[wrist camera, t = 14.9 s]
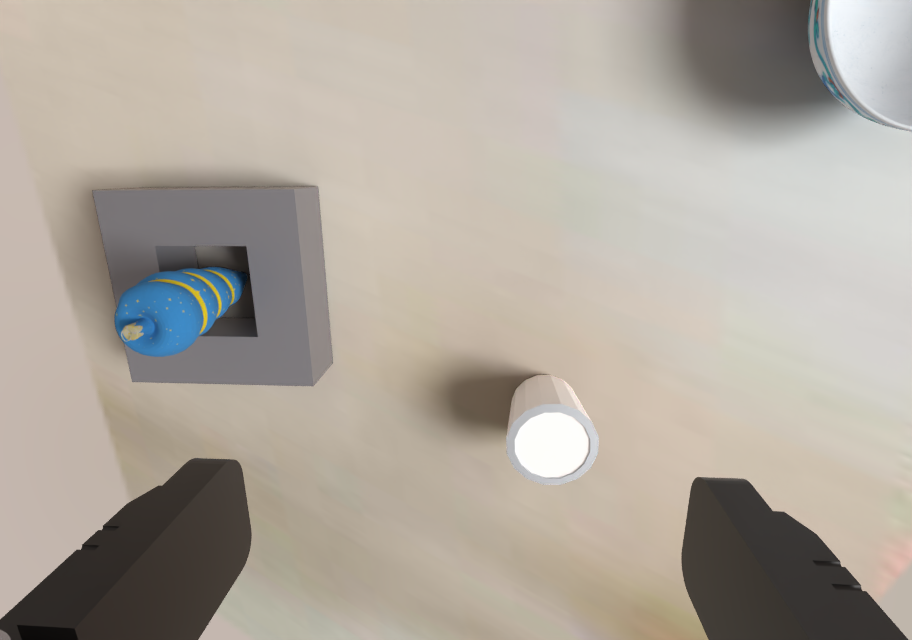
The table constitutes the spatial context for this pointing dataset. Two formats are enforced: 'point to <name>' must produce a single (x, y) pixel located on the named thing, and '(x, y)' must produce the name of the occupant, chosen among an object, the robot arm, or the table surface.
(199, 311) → the ornament
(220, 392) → the table surface
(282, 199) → the socket block
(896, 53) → the chinaware
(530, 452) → the white short cylinder
